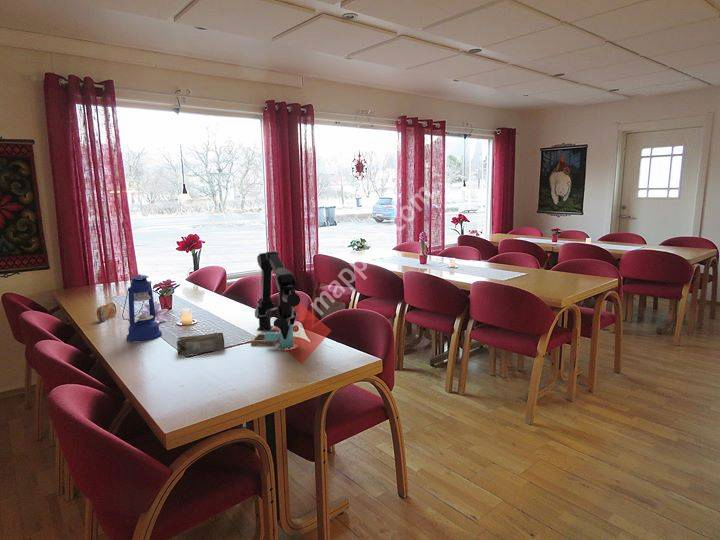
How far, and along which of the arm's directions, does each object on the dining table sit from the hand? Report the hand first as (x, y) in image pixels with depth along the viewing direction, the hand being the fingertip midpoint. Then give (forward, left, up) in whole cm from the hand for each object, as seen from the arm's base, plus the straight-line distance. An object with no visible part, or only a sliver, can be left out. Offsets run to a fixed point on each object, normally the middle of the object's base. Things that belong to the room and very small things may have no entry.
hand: (286, 336), depth 201 cm
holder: (-7, -12, -5) cm, 15 cm away
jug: (0, -3, -4) cm, 6 cm away
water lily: (-35, -79, -5) cm, 87 cm away
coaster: (0, 0, -5) cm, 5 cm away
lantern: (-11, -72, -5) cm, 73 cm away
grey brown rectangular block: (+5, -37, -5) cm, 37 cm away
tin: (-40, -110, -5) cm, 117 cm away
